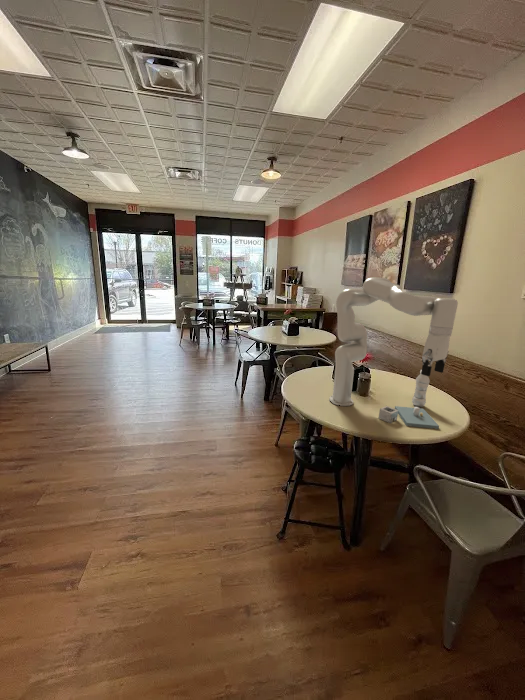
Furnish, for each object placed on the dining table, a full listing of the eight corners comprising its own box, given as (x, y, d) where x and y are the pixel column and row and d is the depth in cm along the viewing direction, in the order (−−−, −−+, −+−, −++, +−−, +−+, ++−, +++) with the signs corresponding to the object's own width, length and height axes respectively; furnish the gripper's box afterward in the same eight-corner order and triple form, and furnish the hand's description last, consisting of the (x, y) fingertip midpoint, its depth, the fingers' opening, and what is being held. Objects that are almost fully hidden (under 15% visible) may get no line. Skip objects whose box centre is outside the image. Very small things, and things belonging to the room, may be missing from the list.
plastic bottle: (412, 407, 155) (418, 371, 150) (410, 402, 161) (416, 367, 156) (425, 409, 152) (432, 373, 147) (423, 404, 159) (430, 369, 154)
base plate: (394, 408, 152) (396, 399, 150) (423, 411, 150) (425, 401, 148) (406, 425, 134) (408, 414, 133) (438, 429, 133) (440, 418, 131)
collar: (385, 415, 144) (386, 405, 143) (396, 420, 139) (398, 410, 138) (378, 418, 140) (379, 408, 139) (390, 423, 136) (391, 413, 135)
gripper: (441, 327, 119) (434, 367, 123) (418, 330, 109) (410, 373, 114) (461, 331, 113) (453, 373, 117) (438, 334, 103) (429, 379, 108)
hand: (432, 373), depth 115 cm, fingers open, 9 cm apart
